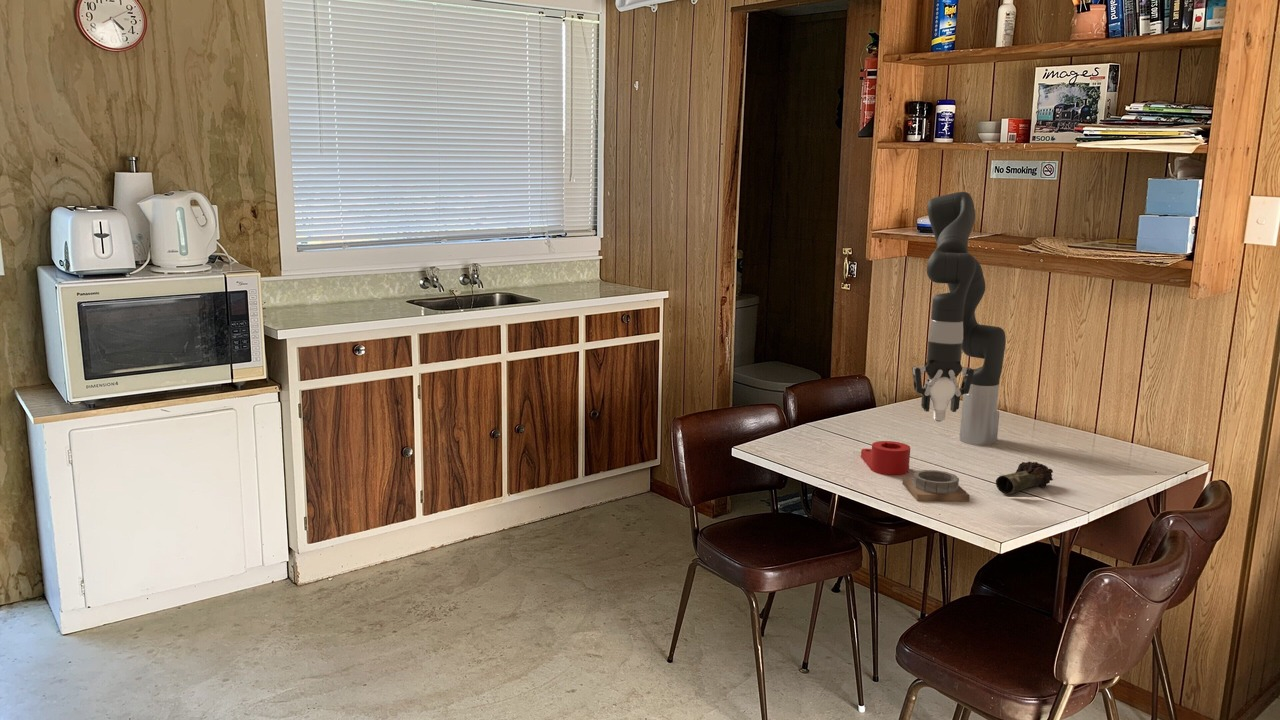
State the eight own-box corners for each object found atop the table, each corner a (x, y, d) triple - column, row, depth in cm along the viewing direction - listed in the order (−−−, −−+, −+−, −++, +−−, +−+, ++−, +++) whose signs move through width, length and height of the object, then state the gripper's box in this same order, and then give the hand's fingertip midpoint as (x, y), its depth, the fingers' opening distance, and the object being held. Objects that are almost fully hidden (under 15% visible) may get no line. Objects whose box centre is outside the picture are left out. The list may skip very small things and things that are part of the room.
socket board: (951, 484, 235) (952, 469, 234) (968, 501, 223) (970, 484, 222) (902, 484, 234) (903, 468, 234) (917, 500, 223) (918, 484, 222)
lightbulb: (956, 425, 222) (960, 378, 220) (928, 424, 222) (932, 377, 220) (948, 418, 229) (952, 372, 227) (921, 417, 229) (925, 372, 227)
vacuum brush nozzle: (1012, 497, 224) (1015, 474, 223) (987, 488, 230) (990, 466, 229) (1055, 486, 234) (1059, 464, 233) (1030, 479, 240) (1034, 457, 239)
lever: (915, 475, 242) (917, 450, 241) (881, 478, 240) (883, 452, 238) (880, 455, 259) (881, 431, 258) (848, 457, 257) (849, 433, 256)
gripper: (970, 337, 226) (964, 408, 229) (909, 336, 226) (904, 406, 229) (982, 343, 218) (976, 415, 221) (919, 341, 218) (913, 414, 221)
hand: (939, 410), depth 225 cm, fingers closed on lightbulb, 5 cm apart
